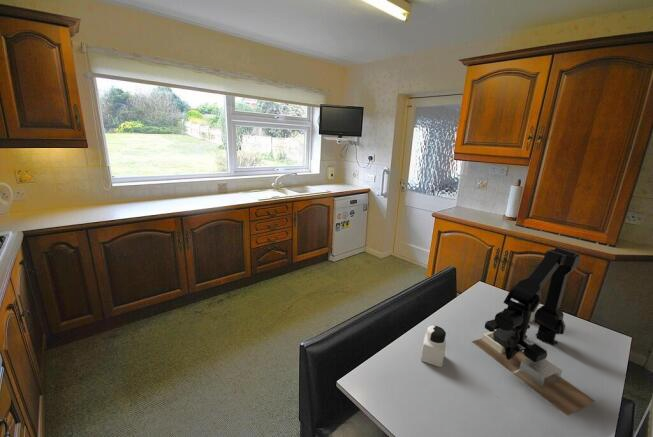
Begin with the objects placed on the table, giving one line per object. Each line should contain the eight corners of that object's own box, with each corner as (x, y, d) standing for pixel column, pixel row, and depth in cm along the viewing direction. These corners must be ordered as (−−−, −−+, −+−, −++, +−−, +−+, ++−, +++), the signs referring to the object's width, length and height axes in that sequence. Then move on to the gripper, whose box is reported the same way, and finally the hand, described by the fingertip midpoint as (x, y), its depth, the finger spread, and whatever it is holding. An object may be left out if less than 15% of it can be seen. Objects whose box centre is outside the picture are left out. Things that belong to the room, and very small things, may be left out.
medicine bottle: (443, 355, 106) (448, 326, 102) (441, 368, 99) (447, 338, 96) (422, 348, 109) (427, 320, 105) (420, 361, 102) (425, 332, 99)
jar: (531, 325, 126) (538, 300, 123) (510, 316, 132) (516, 293, 128) (536, 317, 132) (542, 293, 129) (515, 309, 138) (521, 286, 135)
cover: (535, 364, 101) (538, 354, 100) (558, 381, 95) (562, 370, 94) (518, 371, 98) (521, 361, 97) (541, 389, 91) (545, 377, 90)
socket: (496, 334, 116) (497, 329, 116) (515, 348, 109) (517, 342, 109) (481, 339, 113) (483, 334, 113) (500, 353, 106) (502, 347, 106)
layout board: (496, 336, 118) (496, 333, 117) (593, 403, 88) (595, 400, 88) (471, 344, 112) (471, 341, 112) (566, 418, 83) (567, 415, 83)
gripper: (477, 310, 103) (470, 346, 107) (530, 344, 87) (519, 386, 91) (499, 304, 107) (491, 340, 111) (553, 335, 91) (541, 376, 95)
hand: (508, 358), depth 102 cm, fingers closed
